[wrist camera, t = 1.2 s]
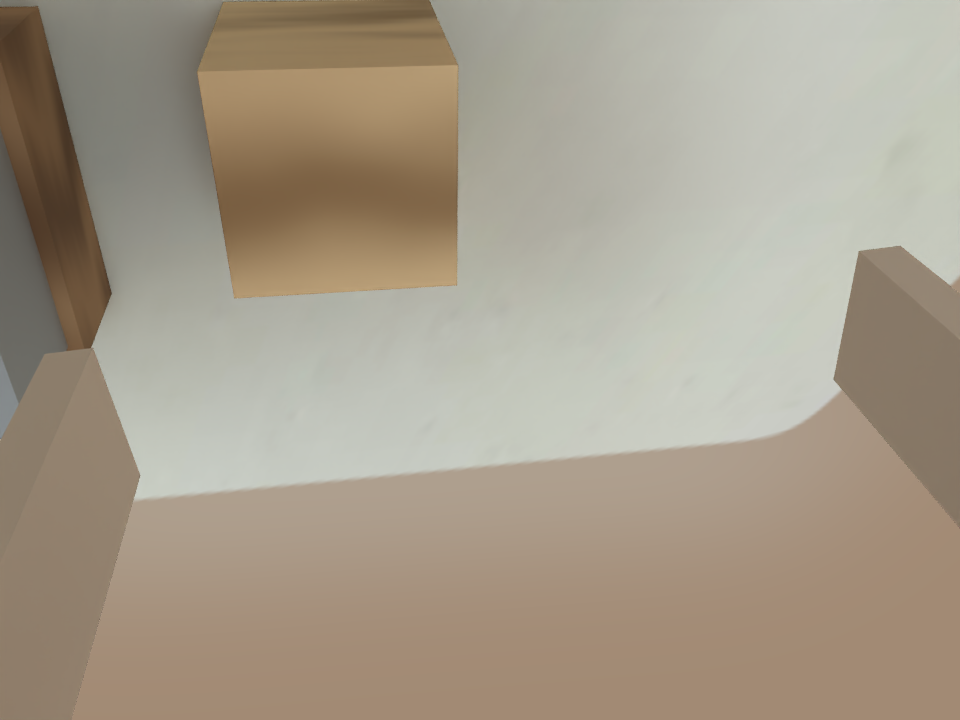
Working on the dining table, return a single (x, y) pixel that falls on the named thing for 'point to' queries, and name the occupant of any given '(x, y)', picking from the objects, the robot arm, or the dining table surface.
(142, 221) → the dining table surface
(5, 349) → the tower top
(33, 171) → the tower base
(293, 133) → the oak block
